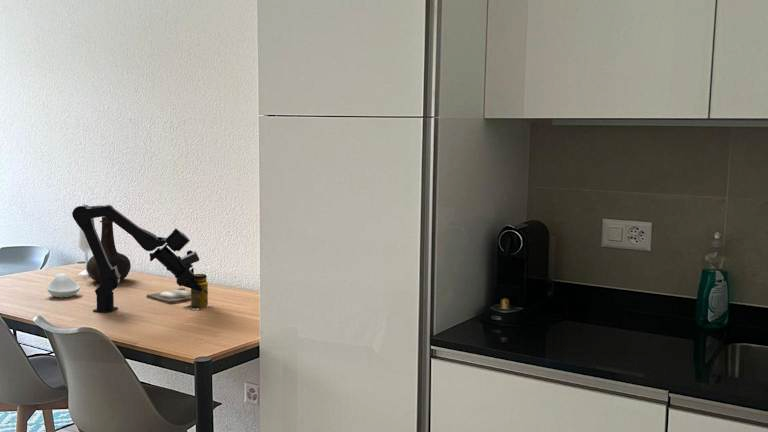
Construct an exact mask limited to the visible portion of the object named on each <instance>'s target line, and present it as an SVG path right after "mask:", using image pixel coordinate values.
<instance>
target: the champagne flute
mask: <svg viewBox="0 0 768 432" xmlns="http://www.w3.org/2000/svg"><path fill="white" fill-rule="evenodd" d="M78 227H79V226H78ZM77 246H78V248H79V249H80V250H81V251H82V252H84V255H85V257H84V260H85V265H84V266H85V269H84V270H83V271H81V272H80V273H79V275H80V274H81V275H80V276H89V274H88V272H87V263H88V261H89V252H90V251H91V249H90V246H89V244H88V241H87V239H86V237H85V234H84V232H83V231H82V229H81V228H80V227H79V231H78V243H77Z"/></svg>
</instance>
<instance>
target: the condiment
mask: <svg viewBox="0 0 768 432" xmlns="http://www.w3.org/2000/svg"><path fill="white" fill-rule="evenodd" d="M207 278H208V277H207V274H205V273H194V279H195V281H196V282H197V283H198V284H199V286H200V287H201V288H202V291H201V292H199V291H196V290H194V289H191V288H190V291H191V300H190V305H186V306H182V308H183V309H188V310H194V311H199V310H202V309H206V308H205V307H207V306H208V305H210V307H213V305H212V304H209V303H208V302H209V293H208V291H209V289H208V286H209V285H208V281H207ZM197 308H198V309H197ZM207 308H208V307H207Z"/></svg>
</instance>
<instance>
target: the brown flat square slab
mask: <svg viewBox="0 0 768 432" xmlns="http://www.w3.org/2000/svg"><path fill="white" fill-rule="evenodd" d="M146 298H147V299H151V300H154V301H157V302H161V303H165V304H168V305H172V304H177V303H178V304H179V303H182V302H188V301H191V290H189V289H188V290H187V289H186V287H176V288H174V290H166V291H161V292H156V293H150V294H146Z"/></svg>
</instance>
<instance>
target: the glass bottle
mask: <svg viewBox="0 0 768 432" xmlns="http://www.w3.org/2000/svg"><path fill="white" fill-rule="evenodd" d="M99 223H101V233H100V234H101V235H100V241H101V244H102V246H103V249H104V251H105V253H106V256H107V258H108V261H109V263H110V264H111V265H112V267H115V266H117V269H118V272H119V274H120V275H121V276H120V282H121V281H123V280H124V279H126V277H127V276H128V275H129V273H130V271H131V267H132V265H131V264H132V263H131V261H130V259H129V258H128V256H126V255H125V254H123V253H121V252H118V250H117V248H116V245H115V244H116V243H115V236H114V235H115V234H114V225H113V223H114V222H113V221H111V220H110V219H109V218H107V217H106V216H104V217H101V220H99ZM87 272H88V274H89V275H88V276H89V277H90V278H91V279H92V280H93V281H94V282H97V283H98V284H100V283H101V281H100V276H99V268H98V266H97V263H96V261H95V258H94V256H93V255H92V256H91V257H90V258H88V263H87Z"/></svg>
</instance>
